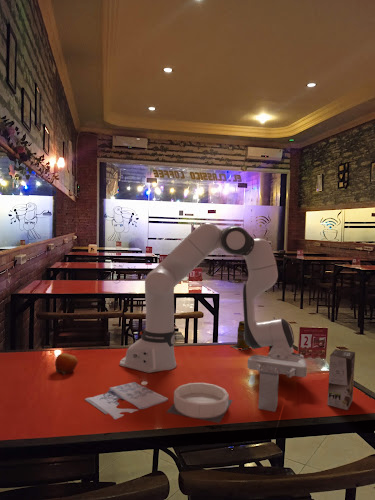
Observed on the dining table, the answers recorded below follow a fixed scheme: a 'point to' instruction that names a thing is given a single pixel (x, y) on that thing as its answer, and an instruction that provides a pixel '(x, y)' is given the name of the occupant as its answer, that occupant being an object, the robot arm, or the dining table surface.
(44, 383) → the dining table surface
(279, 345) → the robot arm
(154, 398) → the printed paper sheets
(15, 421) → the dining table surface
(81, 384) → the dining table surface
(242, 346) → the condiment
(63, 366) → the fruit
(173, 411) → the mat
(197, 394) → the bowl
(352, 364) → the coffee box
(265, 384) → the tin
